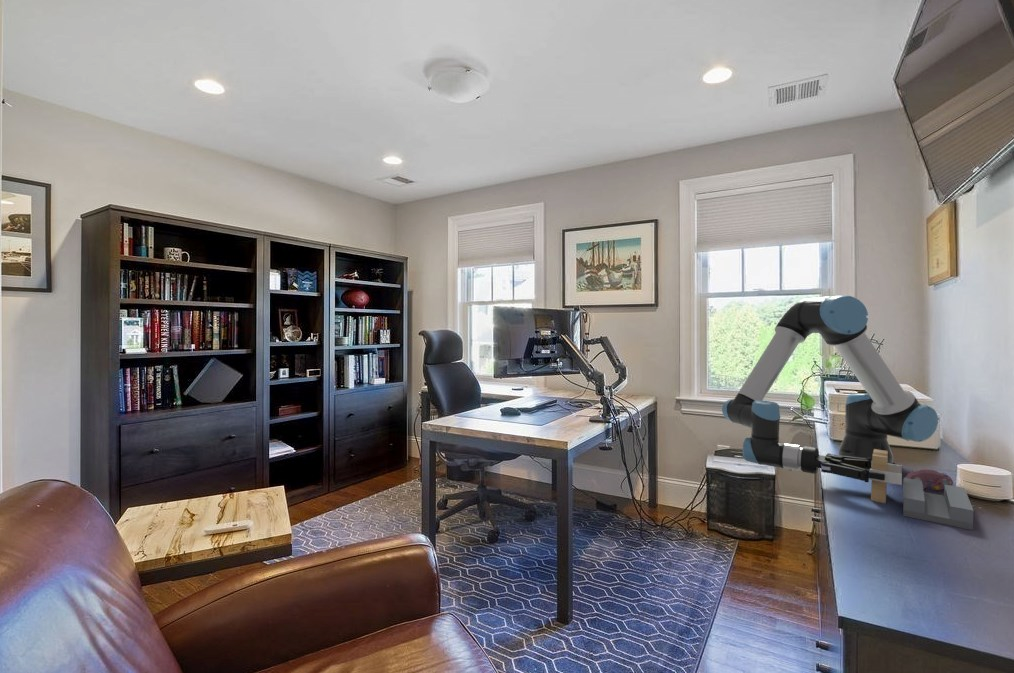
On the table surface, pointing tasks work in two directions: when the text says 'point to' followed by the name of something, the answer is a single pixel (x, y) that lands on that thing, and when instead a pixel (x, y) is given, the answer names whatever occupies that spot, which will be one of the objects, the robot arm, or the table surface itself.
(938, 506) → the grooved sill
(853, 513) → the table surface
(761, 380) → the robot arm
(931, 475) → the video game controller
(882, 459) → the oak plank
